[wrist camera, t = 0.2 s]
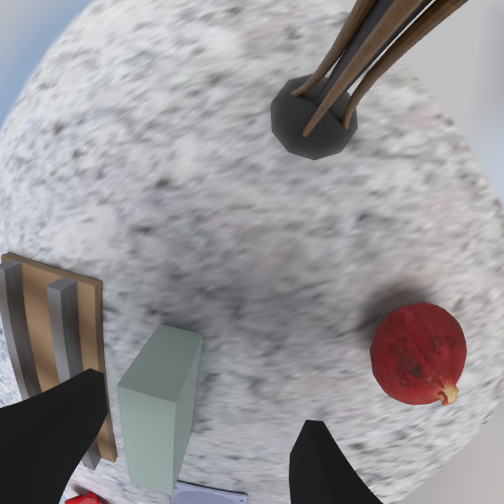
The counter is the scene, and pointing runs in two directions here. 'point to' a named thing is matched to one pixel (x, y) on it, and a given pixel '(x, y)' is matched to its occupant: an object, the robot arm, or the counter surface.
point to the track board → (53, 333)
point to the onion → (419, 354)
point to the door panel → (160, 407)
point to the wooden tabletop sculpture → (350, 73)
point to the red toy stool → (83, 499)
